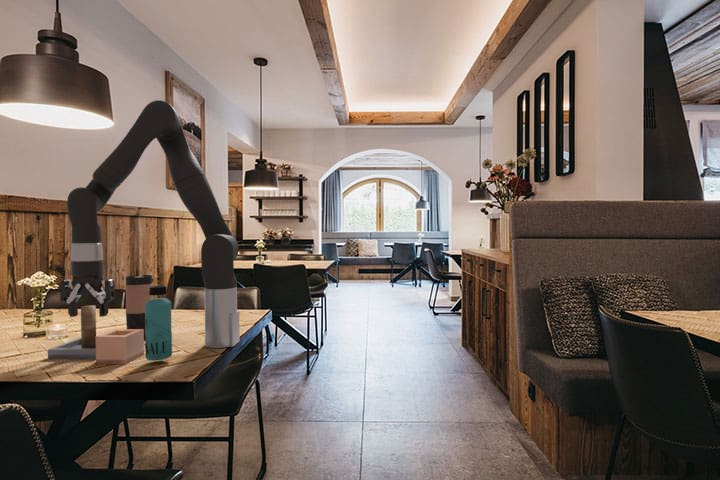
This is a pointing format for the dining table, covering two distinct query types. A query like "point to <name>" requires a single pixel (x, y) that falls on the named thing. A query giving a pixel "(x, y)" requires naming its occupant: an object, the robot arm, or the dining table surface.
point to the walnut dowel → (88, 326)
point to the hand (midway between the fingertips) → (88, 316)
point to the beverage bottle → (158, 326)
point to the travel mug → (137, 300)
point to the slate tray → (71, 351)
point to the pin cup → (119, 346)
